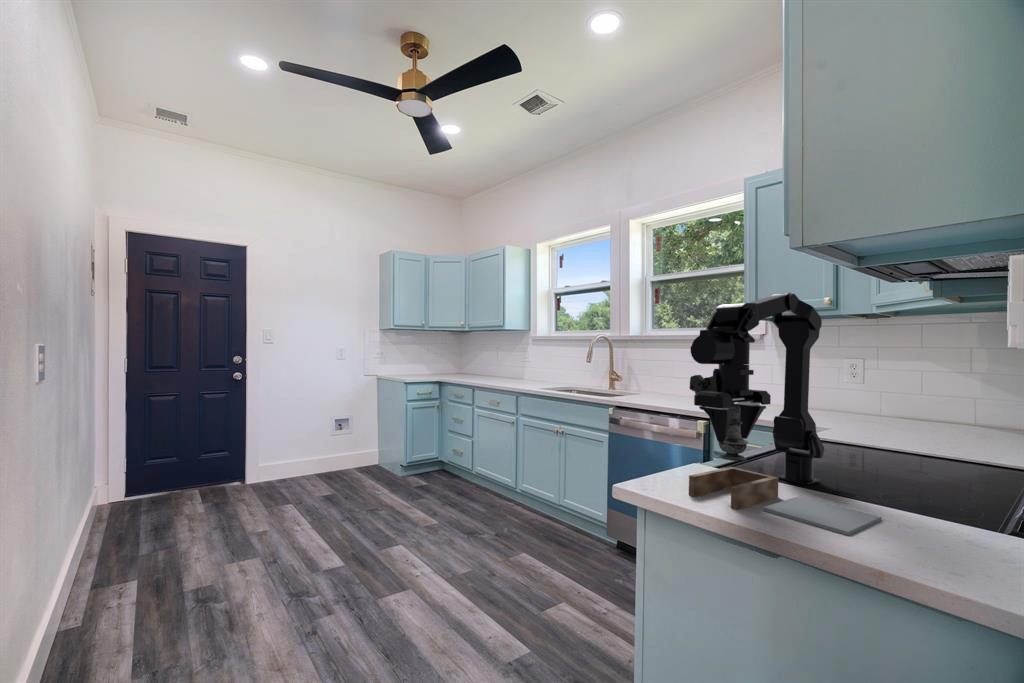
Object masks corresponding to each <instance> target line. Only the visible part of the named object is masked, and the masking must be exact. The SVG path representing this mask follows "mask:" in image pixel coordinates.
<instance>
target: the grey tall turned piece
mask: <svg viewBox="0 0 1024 683" xmlns="http://www.w3.org/2000/svg"><path fill="white" fill-rule="evenodd" d="M728 409H734V411H733V414H732V417H731V421H730V424H729V427H728V431H727V434H726V437H725V440H724V442H718V446H719V448H720V449H721V451H722V452H723V453H720V454H719V455H717V456H718V458H719V459H720V460H721V459H722V460H727V461H733V462H744V461H745V462H746V461H747V457H745V456H744V455H741V454H742V453H744V452H745V451H746V449H747V445H748V444H749V441H748V440H747V439H743V438H742V436H741V424H742V422H740V411H741V409H740V407H739V406H738V405H736V403H732V405H731V407H730V408H728Z"/></svg>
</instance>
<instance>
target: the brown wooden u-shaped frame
mask: <svg viewBox="0 0 1024 683" xmlns="http://www.w3.org/2000/svg"><path fill="white" fill-rule="evenodd" d="M729 487H730V488H731V489H730V488H729ZM725 488H726V489H728V488H729V489H730V508H731V509H733V510H737V511H738V510H741V509H743V508H748V507H751V506H754V505H758V504H760V503H764V502H767V501H770V499H771V500H774V499H776V497H777V498H779V478H778V476H773V475H768V474H764V473H761V472H760V473H759V472H756V471H751V470H746V469H742V468H738V467H734V466H729V467H728V466H727V467H723V468H719V469H713V470H710V471H704V472H700V473H695V474H691V475H688V496H690V495H691V497H697V496H702V495H705V494H709V492H710V493H713V492H717V490H718V491H722V490H725ZM721 489H722V490H721ZM773 498H774V499H773Z"/></svg>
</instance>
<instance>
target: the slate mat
mask: <svg viewBox="0 0 1024 683" xmlns="http://www.w3.org/2000/svg"><path fill="white" fill-rule="evenodd" d="M763 511H764V512H768V513H770V514H773V515H777V516H780V517H784V518H788V519H791V520H794V521H798V522H801V523H805V524H808V525H811V526H814V527H817V528H821V529H825V530H828V531H831V532H835V533H837V534H838V533H839V534H843V535H845V536H850V535H853V534H854V533H856V532H859V531H861V530H863V529H866V528H868V527H869V526H872V525H874V524H876V523H878V522H880V521H881V520H882V519H883V518H882V516H881V515H877V514H872V513H869V512H865V511H861V510H857V509H852V508H849V507H845V506H840V505H837V504H833V503H829V502H825V501H821V500H819V499H818V500H817V499H813V498H809V497H805V496H802V495H798V496H795V497H791V498H789V499H788V498H787V499H784V500H781V501H779V502H778V501H777V502H775V503H772V504H769V505H765V506H763V507H762V512H763Z"/></svg>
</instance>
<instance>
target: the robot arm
mask: <svg viewBox="0 0 1024 683" xmlns="http://www.w3.org/2000/svg"><path fill="white" fill-rule="evenodd" d="M770 317H771V322H772V323H773V325H775V327H777V329H778V330H777V331H778V338H779V339H780V340H781V343H782V344H783V346H784V347H785V362H784V364H785V367H784V369H785V370H784V371H785V372H784V391H783V392H784V394H783V408H782V409H783V410H782V411H781V412H780V413H779V415H775V416H774V417H773V430H772V437H773V443H774V444H773V445H774V447H775V449H774V450H775V452H778V453H784V474H782V475H778V476H777V477H778V480H779V479H780V480H783V481H788V482H791V483H792V482H793V483H796V484H801V485H806V486H809V485H812V484H815V483H819V482H820V479H819V478H816V477H814V459H822V458H823V457H824V453H825V446H824V444H823V442H822V441H821V439H820V436H818V434H817V424H816V421H815V420H814V419H813V417H812V416H811V414H810V412H809V395H810V394H809V390H810V389H809V388H810V366H811V365H810V364H811V363H810V362H811V361H810V360H811V359H810V358H811V349H812V348H813V346H814V345H815V344H816V342H817V341H818V339H819V338H820V330H821V328H822V326H823V325H822V323H823V321H822V318H821V316H820V313H818V311H817V310H816V309H815V308H814V306H813V305H811V304H809V303H806V302H805V301H803V300H801V299H799V298H798V296H797V295H796V294H795V293H792V292H782V293H774V294H772V295H769V296H767V297H764V298H760V299H756V300H754V301H750V302H742V303H741V302H740V303H726V304H719V305H718V306H716V308H715V311H714V313H713V314H712V317H711V319H710V320H709V323H708V325H707V327H706V328H705V329H699V336H697V337H696V338H695V339H694V340H693V342H692V343H691V346H690V355H691V357H692V359H693V360H694V362H697V363H698V364H701V365H718V368H714V370H713V371H712V376H709V377H704V376H702V374H694V375H691V376H690V379H689V387H688V388H689V389H690V390H691V391H692V392H694V395H693V397H694V398H693V405H694V406H698V408H699V409H700V410H702V411H703V412H705V413H706V415H707V416H708V417H709V419H710V423H711V424H712V428H713V431H714V434H715V438H716V441H717V442H718V443H719V442H724V440H725V437H726V434H727V431H728V427H729V424H730V421H731V417H732V414H733V411H734V409H728V408H730V407H731V405H732V403H734V404H736V405H738V406H739V407H740V409H741V411H740V422H742V424H741V436H742V438H743V439H744V440H747V439H748V437H749V436H750V434H751V432H752V430H753V428H754V427H755V425H756V423H757V421H758V420H759V418H760V416H761V415H762V413H763V412H764V410H765V409H767V406H766V405H771V396H772V395H770V393H769V392H768V391H767V390H762V389H761V390H760V389H751V388H750V376H753V375H755V374H754V372H755V371H754V369H750V346H751V344H754V343H755V342H756V340H755V337H753V336H752V335H751V333H749V332H750V331H752V330H753V329H755V328H756V327H758V326H759V325H760V321H762V320H764V319H767V318H770ZM750 343H751V344H750Z"/></svg>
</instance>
